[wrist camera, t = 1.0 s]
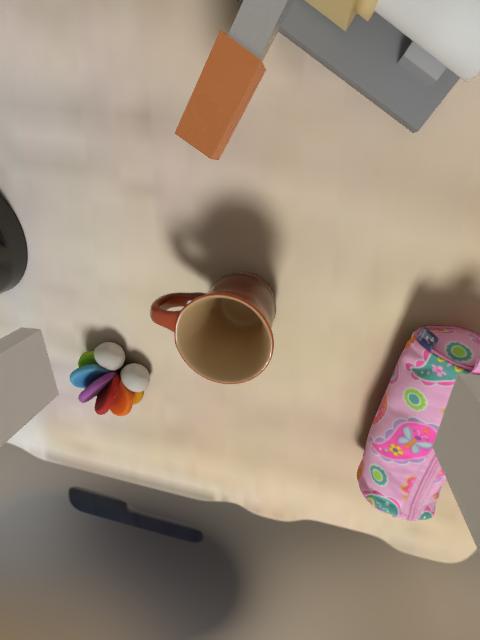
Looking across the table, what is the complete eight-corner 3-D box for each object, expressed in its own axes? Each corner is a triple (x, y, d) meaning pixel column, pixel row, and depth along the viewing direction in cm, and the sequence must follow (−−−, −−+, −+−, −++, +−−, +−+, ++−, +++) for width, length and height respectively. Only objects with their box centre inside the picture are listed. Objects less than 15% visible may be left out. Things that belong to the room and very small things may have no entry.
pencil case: (408, 307, 34) (437, 349, 26) (501, 327, 33) (562, 377, 25) (347, 452, 43) (354, 517, 35) (418, 471, 42) (442, 542, 34)
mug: (293, 274, 35) (285, 311, 26) (272, 343, 39) (259, 396, 29) (187, 245, 36) (143, 270, 27) (177, 314, 40) (136, 357, 30)
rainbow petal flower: (131, 407, 48) (102, 444, 41) (78, 363, 46) (40, 395, 40) (163, 376, 44) (137, 411, 38) (107, 328, 43) (71, 356, 36)
